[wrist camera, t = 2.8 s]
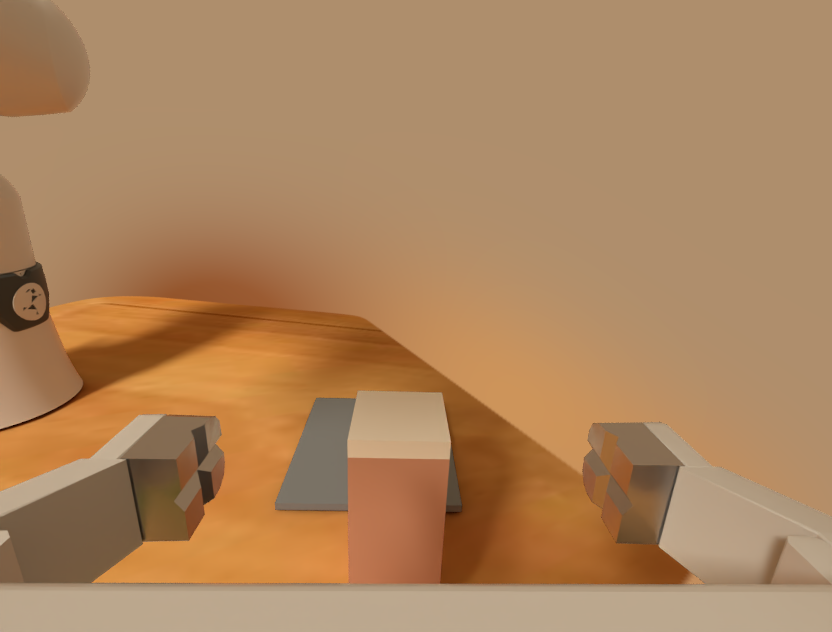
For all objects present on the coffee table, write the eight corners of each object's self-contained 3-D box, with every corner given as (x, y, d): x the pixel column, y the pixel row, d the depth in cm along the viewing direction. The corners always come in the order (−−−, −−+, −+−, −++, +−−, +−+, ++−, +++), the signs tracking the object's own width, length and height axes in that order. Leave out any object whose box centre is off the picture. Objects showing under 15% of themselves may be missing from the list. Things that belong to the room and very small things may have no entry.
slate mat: (275, 509, 32) (275, 503, 32) (316, 402, 47) (316, 397, 47) (461, 511, 33) (462, 505, 32) (442, 405, 48) (443, 400, 48)
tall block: (349, 622, 24) (347, 439, 21) (358, 549, 29) (357, 390, 25) (437, 622, 25) (451, 441, 21) (431, 549, 29) (442, 392, 26)
